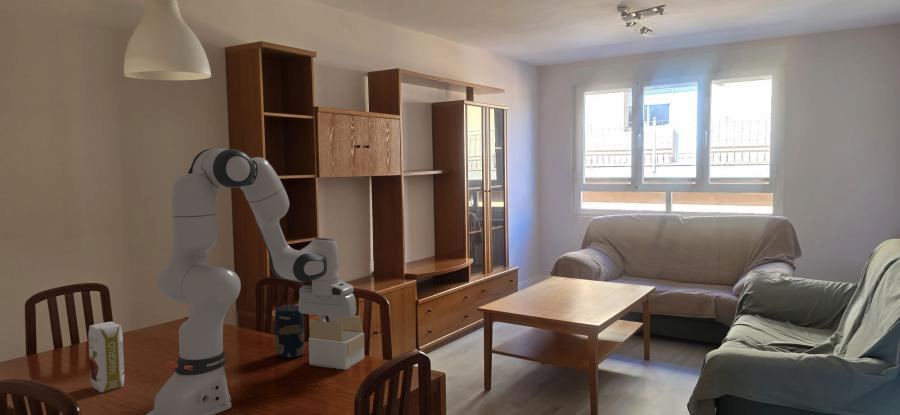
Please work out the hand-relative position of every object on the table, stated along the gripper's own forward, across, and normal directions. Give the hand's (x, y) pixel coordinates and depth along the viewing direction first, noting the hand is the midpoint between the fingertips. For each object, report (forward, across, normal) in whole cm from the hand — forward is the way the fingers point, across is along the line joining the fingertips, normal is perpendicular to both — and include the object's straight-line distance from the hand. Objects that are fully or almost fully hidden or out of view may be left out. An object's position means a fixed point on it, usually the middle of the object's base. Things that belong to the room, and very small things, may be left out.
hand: (327, 328), depth 190 cm
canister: (+13, -19, +5) cm, 24 cm away
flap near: (+1, 0, -1) cm, 1 cm away
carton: (+13, 0, +5) cm, 14 cm away
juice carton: (+12, -52, -39) cm, 66 cm away
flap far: (+1, 0, +10) cm, 10 cm away
